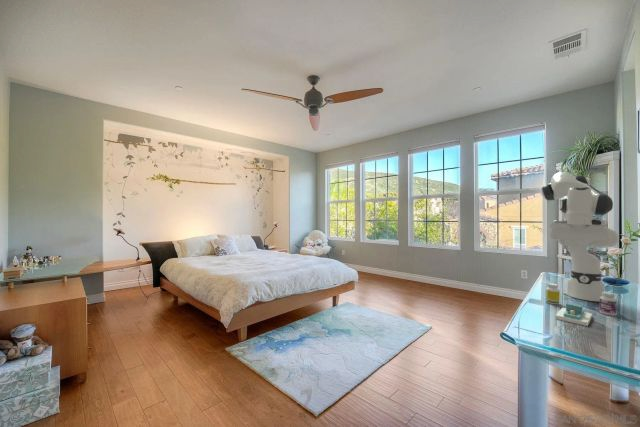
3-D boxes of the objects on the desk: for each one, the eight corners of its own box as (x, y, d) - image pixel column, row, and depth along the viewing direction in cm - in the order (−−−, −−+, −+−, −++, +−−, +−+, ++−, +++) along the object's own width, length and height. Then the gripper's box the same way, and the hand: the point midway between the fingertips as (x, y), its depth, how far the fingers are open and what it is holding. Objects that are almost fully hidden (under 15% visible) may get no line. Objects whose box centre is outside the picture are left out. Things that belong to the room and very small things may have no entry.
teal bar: (579, 319, 112) (579, 309, 112) (563, 316, 116) (563, 306, 116) (584, 312, 121) (584, 303, 121) (569, 309, 125) (569, 300, 125)
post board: (562, 310, 127) (562, 300, 127) (592, 317, 119) (592, 305, 119) (555, 318, 117) (555, 307, 117) (587, 326, 109) (587, 314, 109)
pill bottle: (599, 313, 124) (600, 292, 124) (598, 310, 128) (599, 290, 128) (617, 316, 120) (617, 295, 120) (615, 313, 124) (615, 293, 124)
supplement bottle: (562, 305, 135) (562, 285, 135) (549, 304, 136) (550, 285, 136) (555, 301, 141) (555, 283, 141) (543, 300, 142) (543, 282, 142)
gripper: (549, 220, 132) (548, 248, 132) (610, 221, 116) (609, 253, 116) (552, 220, 136) (551, 247, 136) (611, 221, 120) (611, 252, 120)
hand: (579, 250), depth 126 cm, fingers open, 8 cm apart
